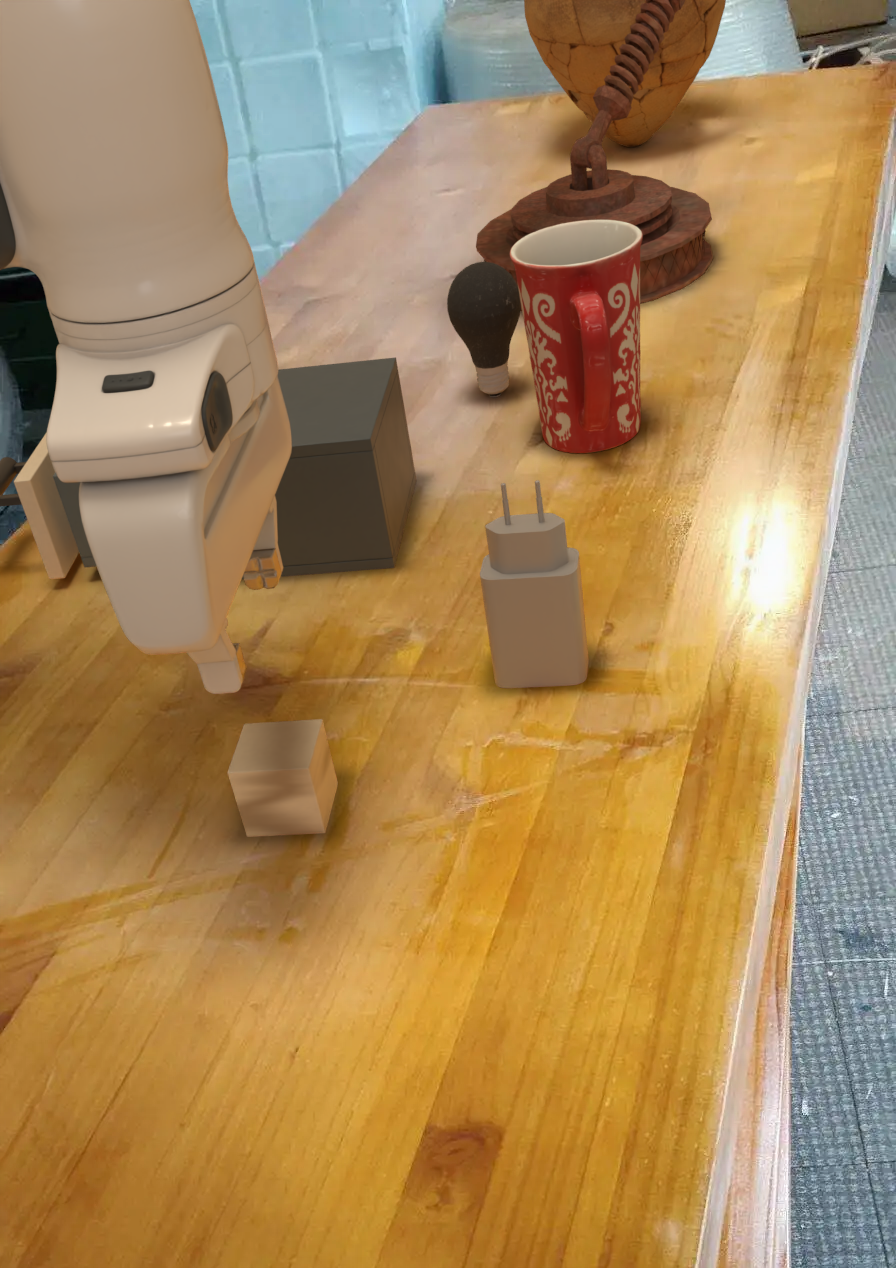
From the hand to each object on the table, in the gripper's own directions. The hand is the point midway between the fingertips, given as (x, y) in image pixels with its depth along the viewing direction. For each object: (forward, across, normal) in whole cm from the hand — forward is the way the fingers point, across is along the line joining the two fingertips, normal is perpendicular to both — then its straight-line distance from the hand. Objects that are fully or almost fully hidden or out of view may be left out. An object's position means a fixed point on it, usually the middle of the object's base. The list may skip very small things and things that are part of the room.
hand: (247, 631), depth 72 cm
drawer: (+10, -32, -18) cm, 38 cm away
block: (+11, 0, 0) cm, 11 cm away
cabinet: (+11, -32, -5) cm, 34 cm away
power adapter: (+12, -12, +13) cm, 21 cm away
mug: (+12, -42, +15) cm, 46 cm away
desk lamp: (+11, -76, +13) cm, 78 cm away
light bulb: (+11, -52, +7) cm, 54 cm away
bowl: (+11, -113, +17) cm, 115 cm away
